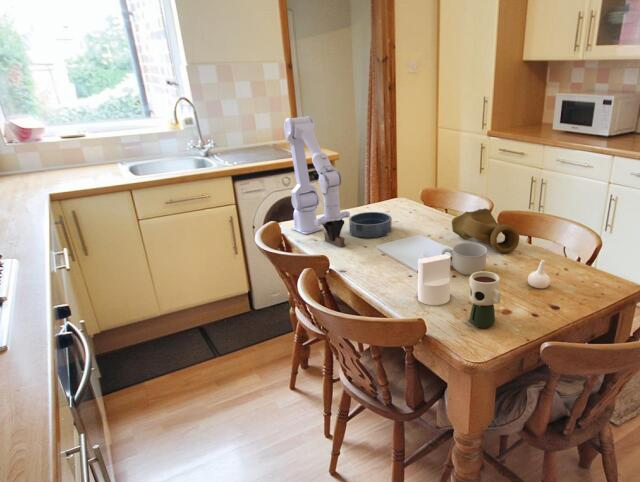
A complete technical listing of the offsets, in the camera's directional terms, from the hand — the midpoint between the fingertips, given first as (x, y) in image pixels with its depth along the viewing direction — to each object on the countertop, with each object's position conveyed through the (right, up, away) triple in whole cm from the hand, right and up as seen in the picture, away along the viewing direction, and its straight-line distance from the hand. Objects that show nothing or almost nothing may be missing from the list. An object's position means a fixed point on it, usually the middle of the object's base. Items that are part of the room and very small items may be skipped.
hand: (334, 239), depth 172 cm
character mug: (+43, -24, -54) cm, 74 cm away
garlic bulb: (+64, -15, -36) cm, 75 cm away
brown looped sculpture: (+54, -2, -4) cm, 55 cm away
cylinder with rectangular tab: (+33, -19, -41) cm, 55 cm away
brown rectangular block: (0, -1, +1) cm, 1 cm away
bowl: (+13, +4, +12) cm, 18 cm away
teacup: (+44, -11, -25) cm, 52 cm away
